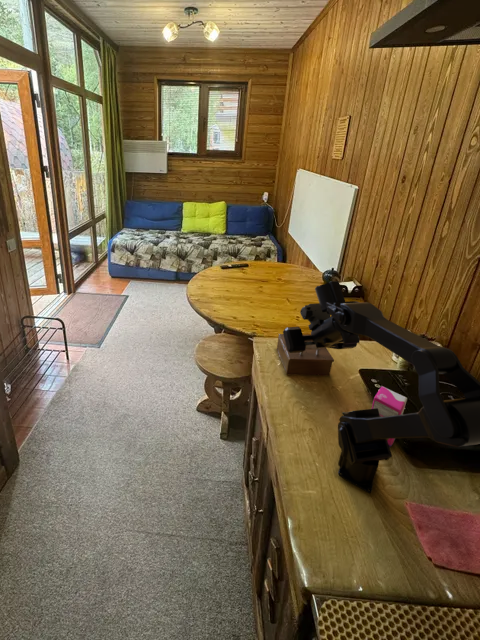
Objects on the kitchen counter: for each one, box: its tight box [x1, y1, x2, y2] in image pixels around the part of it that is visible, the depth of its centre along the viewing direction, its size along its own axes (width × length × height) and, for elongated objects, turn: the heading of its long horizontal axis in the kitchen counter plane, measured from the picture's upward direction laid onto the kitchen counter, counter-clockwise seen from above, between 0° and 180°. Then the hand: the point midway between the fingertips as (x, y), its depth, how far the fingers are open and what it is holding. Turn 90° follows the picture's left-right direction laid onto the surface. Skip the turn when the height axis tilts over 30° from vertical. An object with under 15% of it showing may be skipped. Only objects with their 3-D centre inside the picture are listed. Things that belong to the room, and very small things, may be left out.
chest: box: [276, 335, 333, 377], centre depth 102 cm, size 13×14×6 cm
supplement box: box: [371, 385, 408, 448], centre depth 76 cm, size 6×6×12 cm
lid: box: [278, 333, 335, 363], centre depth 100 cm, size 13×14×4 cm
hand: (306, 345), depth 88 cm, fingers open, 9 cm apart
